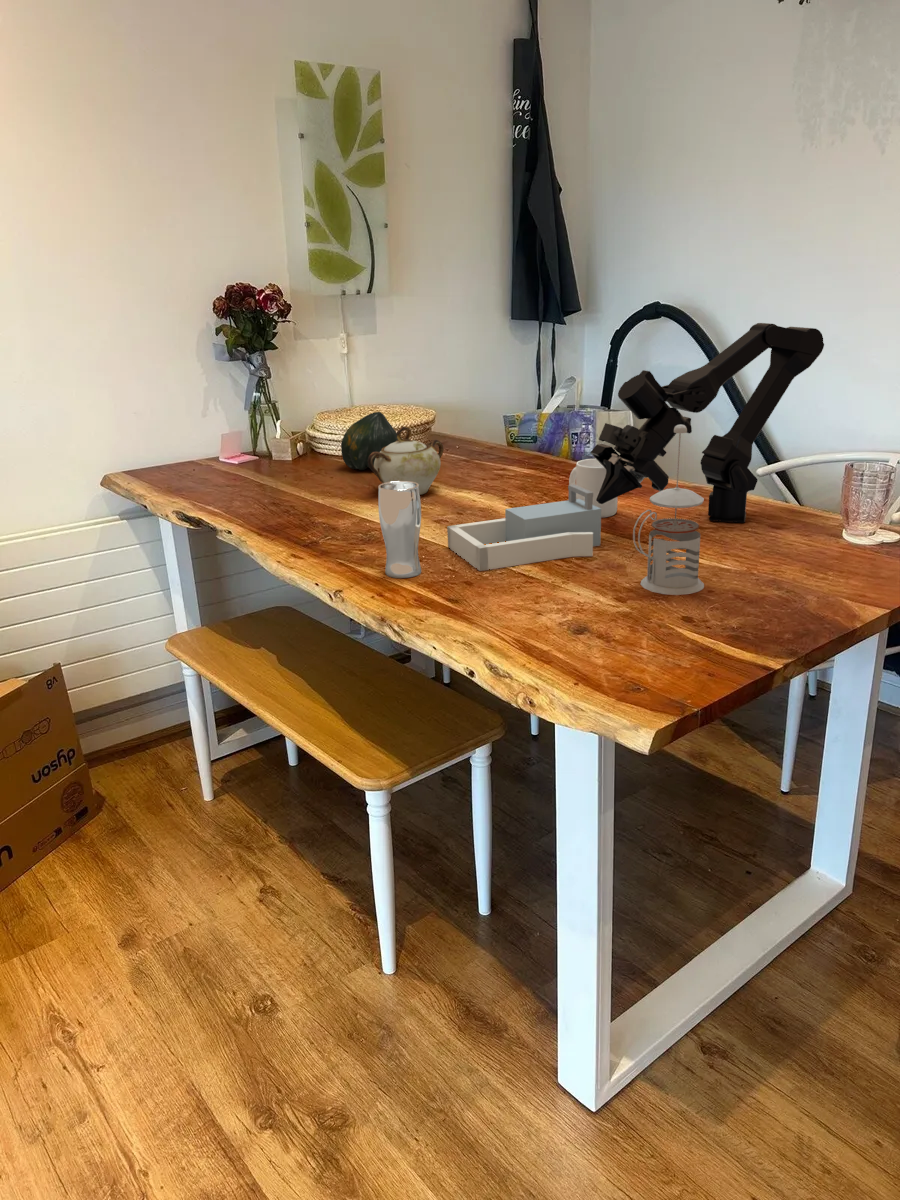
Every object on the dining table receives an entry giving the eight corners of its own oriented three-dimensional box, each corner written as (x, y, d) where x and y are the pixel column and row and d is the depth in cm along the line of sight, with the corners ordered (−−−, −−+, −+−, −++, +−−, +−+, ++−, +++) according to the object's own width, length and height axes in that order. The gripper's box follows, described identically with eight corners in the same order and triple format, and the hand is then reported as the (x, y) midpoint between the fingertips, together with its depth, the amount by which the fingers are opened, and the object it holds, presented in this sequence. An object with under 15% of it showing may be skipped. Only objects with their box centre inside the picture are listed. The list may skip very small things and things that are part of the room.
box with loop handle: (578, 535, 169) (579, 482, 166) (600, 546, 162) (601, 492, 159) (505, 546, 164) (505, 492, 161) (524, 558, 157) (524, 502, 154)
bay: (548, 530, 172) (548, 509, 171) (595, 555, 156) (595, 533, 155) (445, 545, 165) (444, 524, 164) (483, 573, 150) (482, 550, 148)
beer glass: (375, 577, 150) (369, 489, 145) (393, 564, 156) (387, 479, 151) (414, 581, 147) (409, 491, 142) (430, 567, 154) (426, 481, 148)
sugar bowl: (388, 506, 194) (384, 436, 189) (354, 493, 205) (349, 427, 200) (462, 491, 204) (460, 424, 199) (426, 480, 216) (423, 417, 210)
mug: (555, 509, 187) (555, 459, 183) (585, 502, 191) (585, 454, 187) (595, 520, 177) (596, 469, 174) (625, 513, 182) (627, 462, 178)
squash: (324, 446, 231) (345, 405, 221) (370, 440, 241) (393, 400, 230) (350, 489, 227) (373, 449, 216) (396, 480, 237) (420, 442, 226)
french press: (717, 589, 139) (728, 426, 130) (648, 599, 136) (656, 433, 127) (683, 570, 147) (692, 417, 139) (619, 579, 145) (624, 423, 136)
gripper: (601, 400, 168) (547, 465, 168) (657, 413, 151) (597, 485, 152) (636, 438, 173) (583, 501, 173) (693, 455, 157) (636, 524, 157)
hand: (598, 502), depth 164 cm, fingers closed
